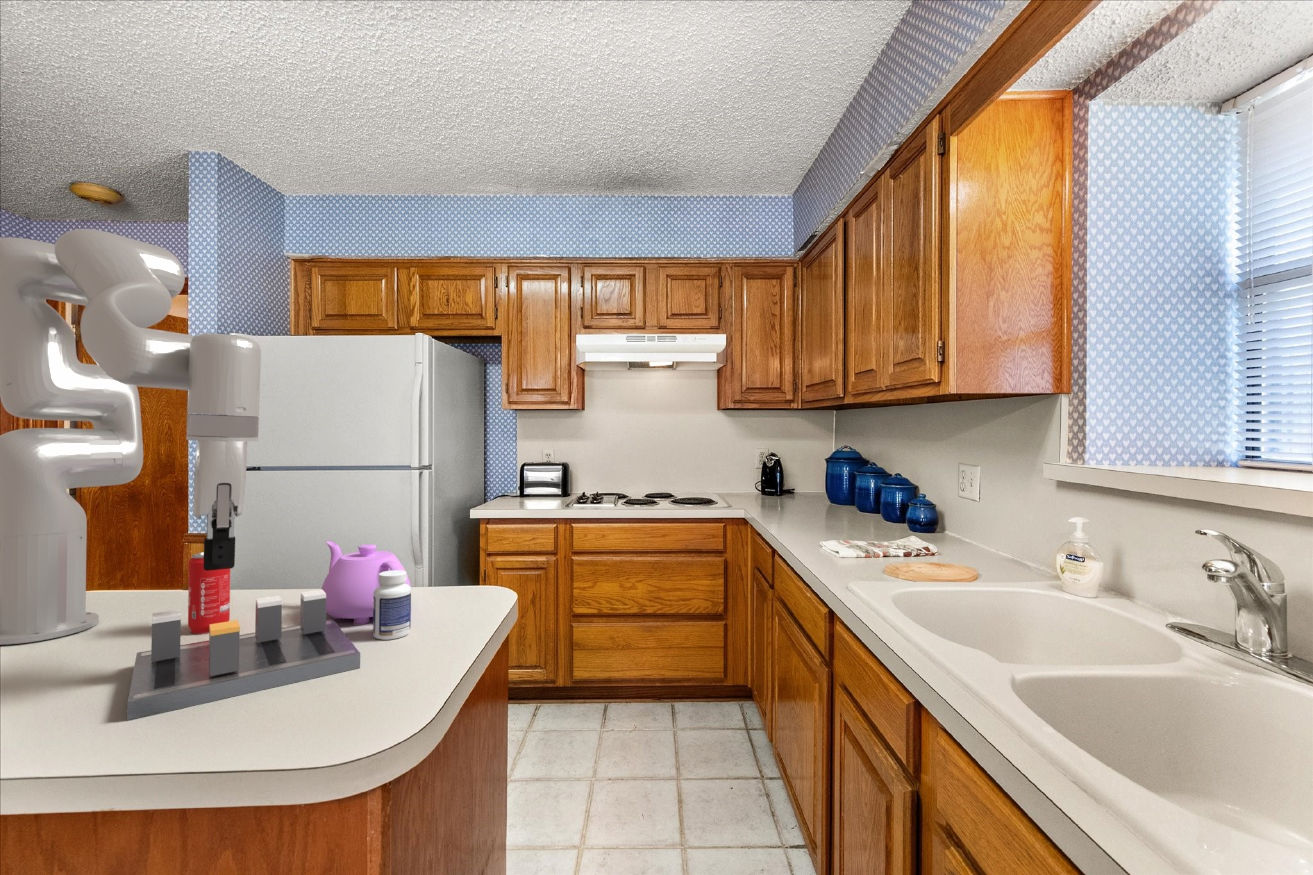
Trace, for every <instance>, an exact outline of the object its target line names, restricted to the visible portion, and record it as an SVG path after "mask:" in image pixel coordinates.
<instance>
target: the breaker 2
mask: <svg viewBox="0 0 1313 875" xmlns="http://www.w3.org/2000/svg"><path fill="white" fill-rule="evenodd" d="M282 615H283V600H282V598H281V596H280V595H274V596H273V595H272V596H266V597H260V598H259V597H258V598H255V626H254V627H255V631H254V633H255V638H256V640H257V643H259V642H264V641H270V640H275V639H281V637H282V628H283V627H282V626H283V625H282V624H283V616H282Z"/></svg>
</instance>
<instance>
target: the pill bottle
mask: <svg viewBox="0 0 1313 875" xmlns="http://www.w3.org/2000/svg"><path fill="white" fill-rule="evenodd" d="M407 575H408V573H407V571H406V570H405V571H403V570H392V571H385V572H381V573H379V580H378V582H379V584H380V586H379V587H377V588H376V589H375V590H374V595H373V617H372V618H373V619H372V631H373V632H372V636H373V637H374V638H375V639H377V640H383V641H384V640H386V641H388V640H389V641H390V640H395V639H399V638H402V637H405V636H407V635H409V634H410V632H411V628H412V627H411V625H412V624H411V623H412V622H411V621H412V618H411V616H412V586H411V585H410V586H411V587H410V586H409V585H407V584H405V582H406V579H407Z"/></svg>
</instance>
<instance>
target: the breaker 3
mask: <svg viewBox="0 0 1313 875" xmlns="http://www.w3.org/2000/svg"><path fill="white" fill-rule="evenodd" d="M299 614H300V619H299V620H300V624H299V625H300V629H301V631H302V632H303V634H308V633H314V632H319V631H325V630H326V620H327V612H326V593H325V592H324V591H323V590H321V589H317V590H316V589H315V590H309V591H302V592H300V613H299Z"/></svg>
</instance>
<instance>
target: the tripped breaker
mask: <svg viewBox="0 0 1313 875" xmlns="http://www.w3.org/2000/svg"><path fill="white" fill-rule="evenodd" d="M240 627H241V626H240V623H239V620H238V619H235V620H229V621H228V622H222V623H216V624H210V628H209V633H208V634H209V637H208V638H209V639H208V640H209V673H210V676H214V675H219V674H224V673H229V672H234V671H239V639H240V635H241V633H240Z"/></svg>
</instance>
